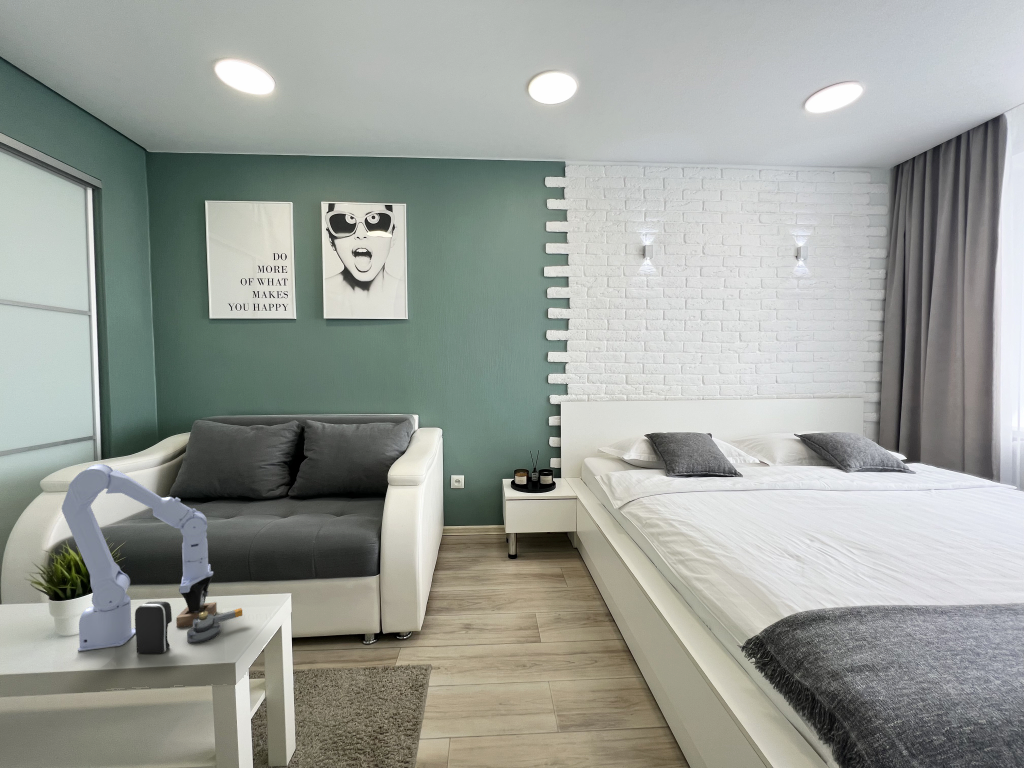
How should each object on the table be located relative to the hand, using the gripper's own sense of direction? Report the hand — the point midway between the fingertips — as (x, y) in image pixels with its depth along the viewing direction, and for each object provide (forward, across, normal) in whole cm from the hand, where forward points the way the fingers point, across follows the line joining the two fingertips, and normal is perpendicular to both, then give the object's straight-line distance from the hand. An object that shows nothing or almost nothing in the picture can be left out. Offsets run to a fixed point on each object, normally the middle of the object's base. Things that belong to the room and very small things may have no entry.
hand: (196, 608), depth 128 cm
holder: (+3, 0, 0) cm, 3 cm away
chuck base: (+3, -10, -6) cm, 12 cm away
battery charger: (+3, -14, +4) cm, 15 cm away
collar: (+1, -9, -8) cm, 12 cm away
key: (+2, 0, 0) cm, 2 cm away
